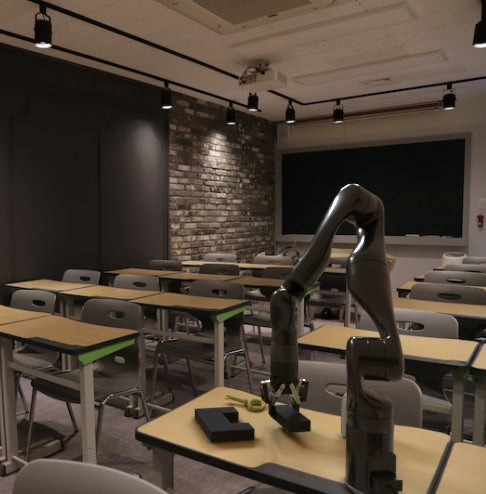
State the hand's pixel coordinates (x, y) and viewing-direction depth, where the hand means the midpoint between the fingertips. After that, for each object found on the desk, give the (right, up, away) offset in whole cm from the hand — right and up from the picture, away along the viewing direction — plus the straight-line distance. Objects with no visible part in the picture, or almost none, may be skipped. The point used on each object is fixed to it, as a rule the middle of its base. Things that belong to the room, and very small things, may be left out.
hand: (283, 416), depth 138 cm
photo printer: (+18, -3, -5) cm, 19 cm away
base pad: (-17, -3, -1) cm, 18 cm away
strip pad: (0, -1, -3) cm, 3 cm away
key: (-6, -2, +16) cm, 18 cm away
